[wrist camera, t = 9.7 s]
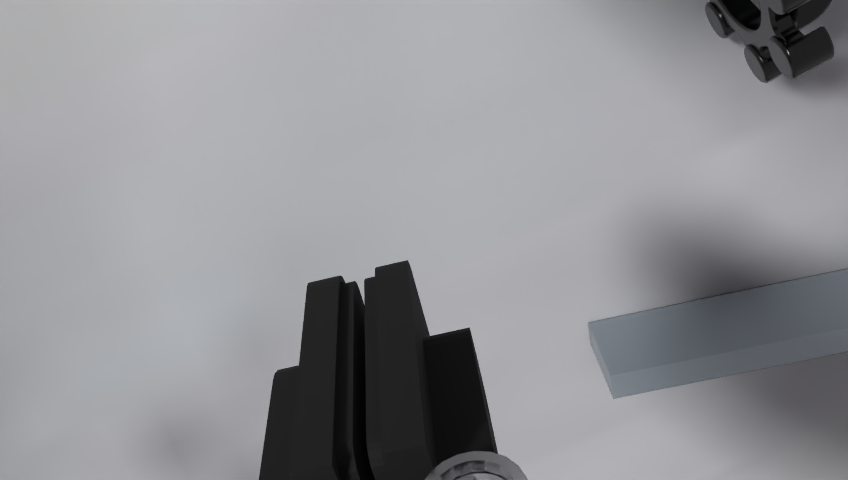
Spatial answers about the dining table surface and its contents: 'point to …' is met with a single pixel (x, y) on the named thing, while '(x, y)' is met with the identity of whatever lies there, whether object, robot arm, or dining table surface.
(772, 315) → the tray frame
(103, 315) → the dining table surface
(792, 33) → the valve
